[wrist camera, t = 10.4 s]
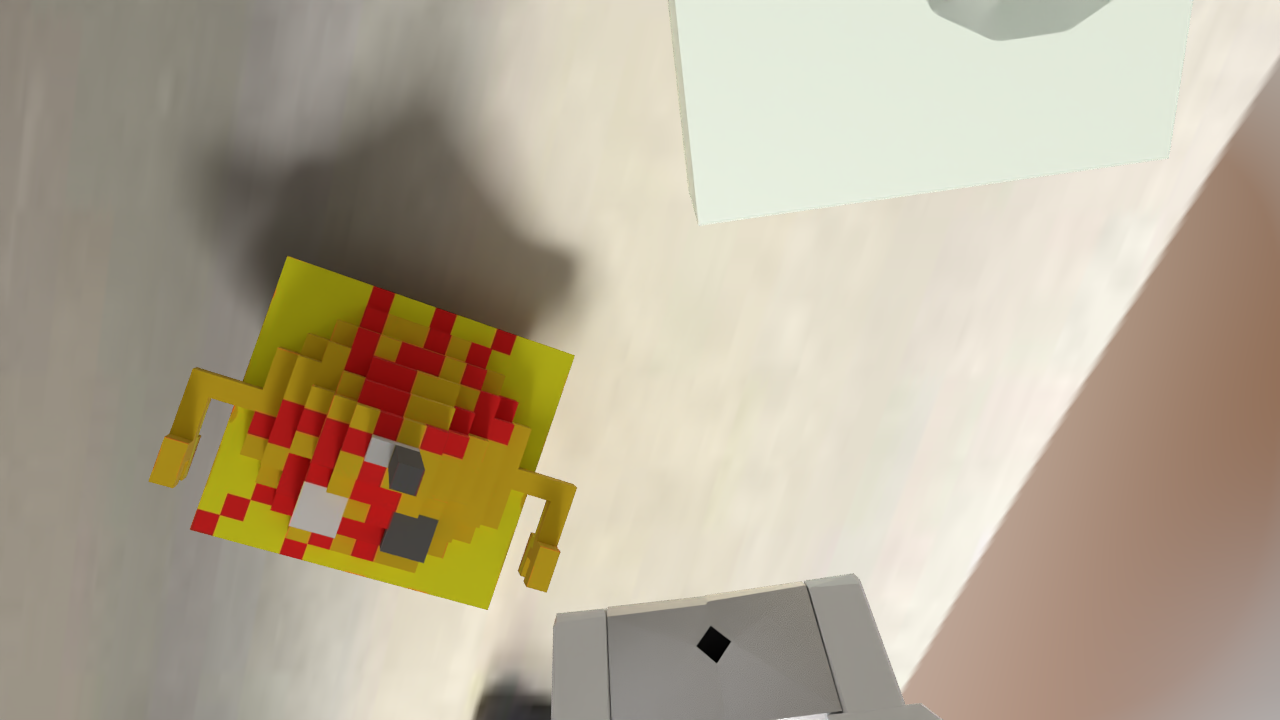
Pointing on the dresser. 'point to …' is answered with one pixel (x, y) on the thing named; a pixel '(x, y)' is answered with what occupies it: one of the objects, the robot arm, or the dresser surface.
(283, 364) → the toy
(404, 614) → the dresser surface
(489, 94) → the dresser surface
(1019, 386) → the dresser surface
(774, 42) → the board
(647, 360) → the dresser surface
